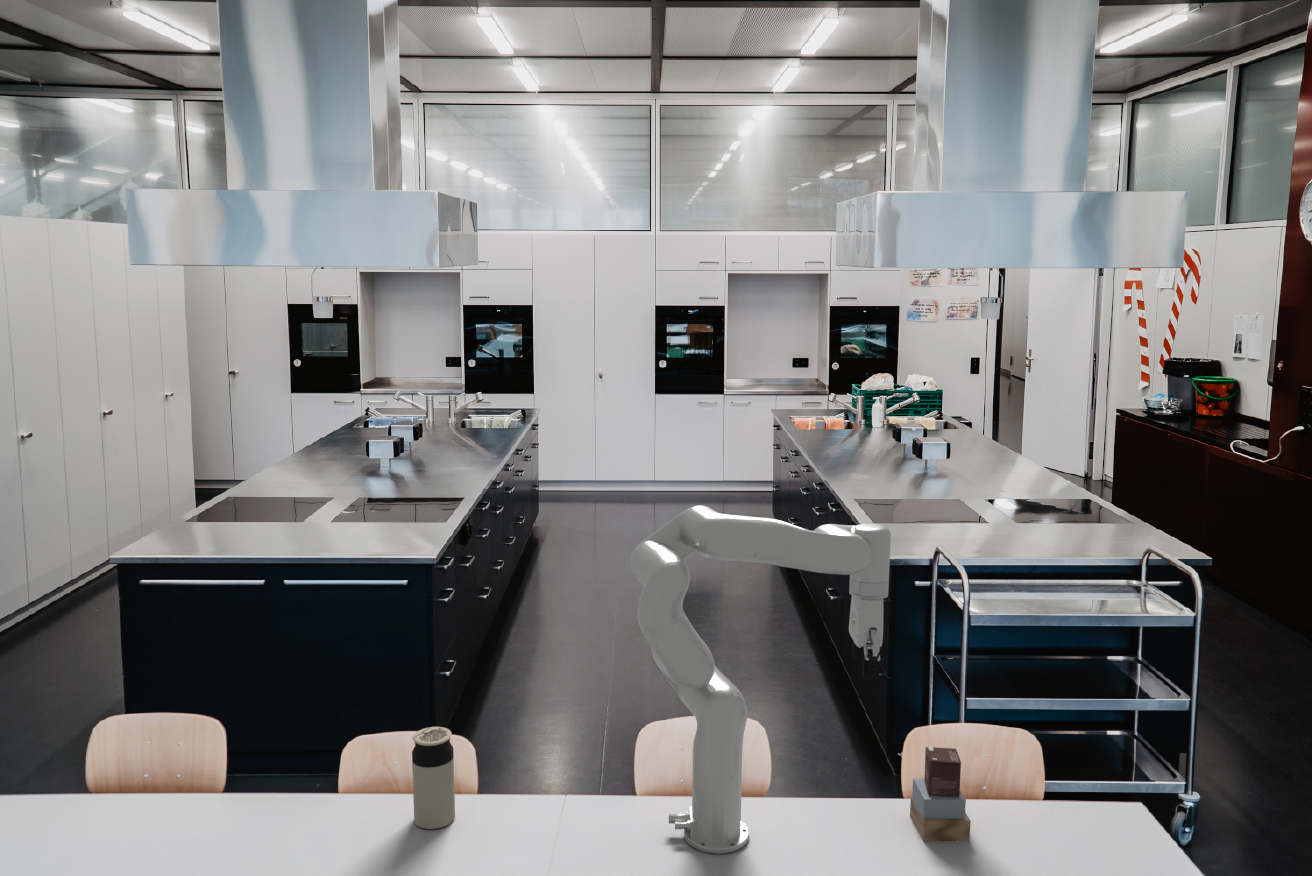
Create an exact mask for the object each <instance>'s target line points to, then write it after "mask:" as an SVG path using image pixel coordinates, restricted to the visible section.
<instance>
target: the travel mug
mask: <svg viewBox="0 0 1312 876" xmlns="http://www.w3.org/2000/svg"><path fill="white" fill-rule="evenodd" d="M452 736H453V735H452V731H451V730H450V729H449V728H447V727H442V726H431V727H430V726H429V727H425V728H422V729H420V730H418V731H416V732H415V733H414V734H413V735H412V741H413V742H414V747H413V749H412V751H411V758H412V760H411V761H412V763H411V765H412V789H413V790H412V792H413V797H412V798H413V819H414V823H415V824H414V825H416V826H417V827H419V828H422V829H425V830H427V829H428V830H436V829H440V828H444V827H447V826H448V825H450V824H451V823H452V822H453V821H454V820H455V818H456V799H455V798H456V796H455V794H456V793H455V764H454V763H455V761H454V759H455V757H454V754H455V753H454V746H453V745H452V743H451V738H452Z"/></svg>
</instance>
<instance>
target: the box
mask: <svg viewBox="0 0 1312 876" xmlns="http://www.w3.org/2000/svg"><path fill="white" fill-rule="evenodd" d="M924 751H925V752H924V753H925V755H924V777H923V779H924V781H925V785H926V788H927V792H928V795H933V796H949V797H959V796H960V791H961V773H962V772H961V770H962V762H961V758H960V755H959V753H958V750H957V748H952V747H951V748H950V747H936V746H934V747H933V746H926V747H925V750H924Z"/></svg>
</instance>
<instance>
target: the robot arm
mask: <svg viewBox="0 0 1312 876" xmlns="http://www.w3.org/2000/svg"><path fill="white" fill-rule="evenodd" d="M891 534H892V533H891V531H890V529H889V528H888V527H887V526H885V525H883V524H879V523H878V524H877V523H860V524H857V525H851V524H850V525H847V524H837V523H827V524H822V525H819V526H818V527H816V528H815V529H813V530H809V529H807V528H803V527H800V526H797V525H794V524H792V523H789V522H786V521H784V520H779V519H776V518H772V517H771V518H770V517H760V516H759V517H758V516H748V515H737V514H729V513H720V512H718V511H715V510H714V509H713V508H711V507H709V506H706V505H702V504H701V505H699V504H698V505H695V506H694V505H693V506H691V507H689V508H687V509H685V510H683V511H681V512H680V513H678V514H677V515H676V516H674V517H673V518H672V519H670V520H669V521H668V522H666V523H665V524H663V526H661V527H660V528H658V529H657V530H656V531H654V532H653V533H652V534H650V535H648V536H647V537H646V538H645V539H644V540H642V541H641V542H640V543H639V544H637V546H636V547H635V549H634V550H633V552H632V554H631V556H630V561H629V563H630V564H629V566H630V570H631V573H632V575H633V577H634V578H635V579H636V581H638V582H639V583H640V584H641V585H642V586H643V588H642V590H641V593H640V596H639V598H638V603H637V608H636V609H637V610H636V616H637V617H636V618H637V622H638V623H637V624H638V626H639V629H640V631H641V633H642V634H643V635H644V638H645V639H646V640H647V642H648V644H649V646H651V647H650V648H651V649H650V650H651V654H652V655H651V656H652V659H653V660H654V662H655V664H656V665H657V667H658V668H659V670H660V671H661V673H662V674H663V676H664V677H665V679H666V680H667V682H668V683H669V685H670V686H671V687H672V689H673V691H675V693H676V694H677V696H678V697H679V698H680V700H681V701H682V703H683V704H684V705H685V707H686V708H688V710H689V711H690V713H691V715H692V716H693V717H694V718H695V720H696V730H695V735H694V736H693V737H694V738H693V743H692V777H691V778H692V781H691V782H692V783H691V784H692V786H691V787H692V788H691V790H692V791H691V806H689V811H684V813H677V812H668V824H670V825H671V824H672V825H673V824H674V829H675V830H683V838H684V840H685V842H687V844H688V845H690V846H691V847H692V848H694V849H696V850H697V851H701V852H703V853H709V854H716V855H717V854H721V855H722V854H729V853H732V852H733V853H734V852H736V851H738V850H740V849H742V848H743V847H745V845H747V843H748V841H749V828H748V826H747V825H746V824H745V823H744V822H743V821H742V789H743V788H742V784H743V783H742V781H743V777H742V776H743V745H744V744H743V743H744V734H745V728H746V726H747V719H748V707H747V703H746V700H745V697H744V696H743V694H742V692H741V691H740V690H739V688H738V687H737V686H736V685H735V684H734V683H733V682H732V681H731V680H730V679H729V678H728V677H726V676H725V675H724V674H723V673H722V672H721V671H720V669H719V668H718V667H717V666H716V664H715V659H714V656H713V653H712V652H711V650H710V648H709V646H708V645H707V643H706V642H705V641H704V639H702V638H701V636H700V635H699V633H698V632H697V631H696V629H695V628H694V625H692V623H691V622H690V620H689V618H688V617H687V615H686V613H685V611H684V606H683V604H684V600H685V597H686V595H687V592H688V589H689V586H690V581H691V573H690V568H689V566H688V564H687V563H686V560H687V559H689V558H690V557H691V556H692V555H694V554H695V553H697V554H698V555H700V556H702V557H704V558H707V559H711V560H720V561H732V562H734V561H735V562H745V563H746V562H747V563H748V562H749V563H757V564H758V563H759V564H761V563H762V564H771V565H775V566H779V567H783V568H790V569H796V570H802V571H807V572H814V573H819V574H829V575H843V576H844V575H845V576H847V575H849V590H848V592H849V595H851V599H850V600H851V601H850V609H849V611H850V612H849V622H848V633H849V636H850V637H851V639H852V654H851V655H852V656H851V657H852V660H853V661H862V679H863V680H867V681H868V680H870V681H871V680H875V681H876V680H879V679H880V674H881V673H880V672H881V671H880V670H881V650H880V649H881V647H882V646H883V639H884V599H885V598H888V597H889V587H890V585H889V582H890V563H891V559H890V558H891V544H892V543H891V539H892V538H891V536H892V535H891Z"/></svg>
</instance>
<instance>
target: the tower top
mask: <svg viewBox="0 0 1312 876" xmlns="http://www.w3.org/2000/svg"><path fill="white" fill-rule="evenodd" d="M911 797H913V799H914V801H915V803H916V805H917V807H918V809H919V811H920V813H921V815H922V817H923V819H965V813H966V801H967V799H966V797H965V796H964V794H963V793H962V791H961V790H960V796H959V797H949V796H933V795H928V792H927V788H926V785H925V781H924V778H912V796H911Z"/></svg>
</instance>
